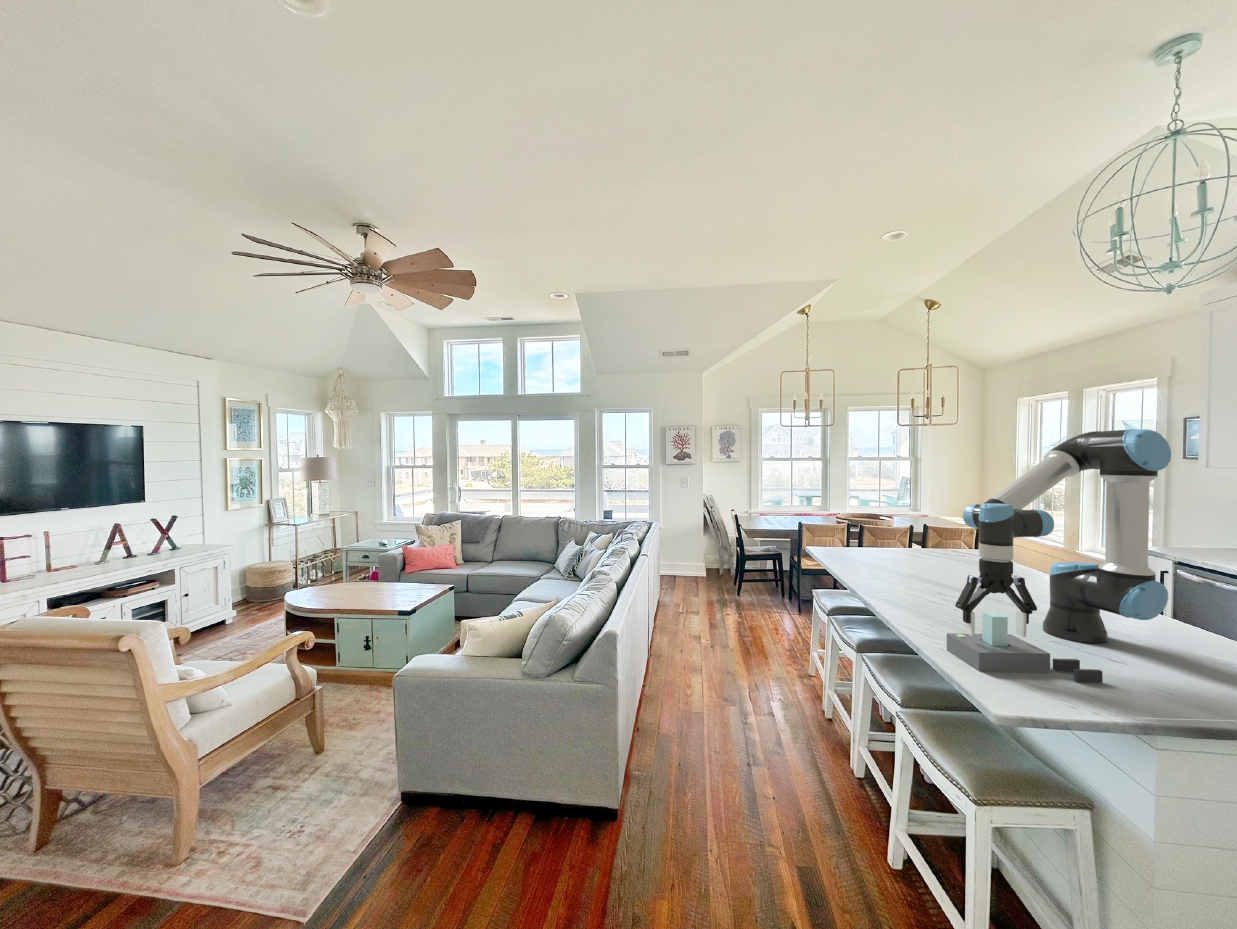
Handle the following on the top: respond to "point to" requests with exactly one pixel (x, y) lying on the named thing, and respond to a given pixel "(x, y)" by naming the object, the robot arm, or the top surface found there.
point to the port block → (998, 654)
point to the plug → (995, 629)
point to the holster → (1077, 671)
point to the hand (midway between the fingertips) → (995, 635)
